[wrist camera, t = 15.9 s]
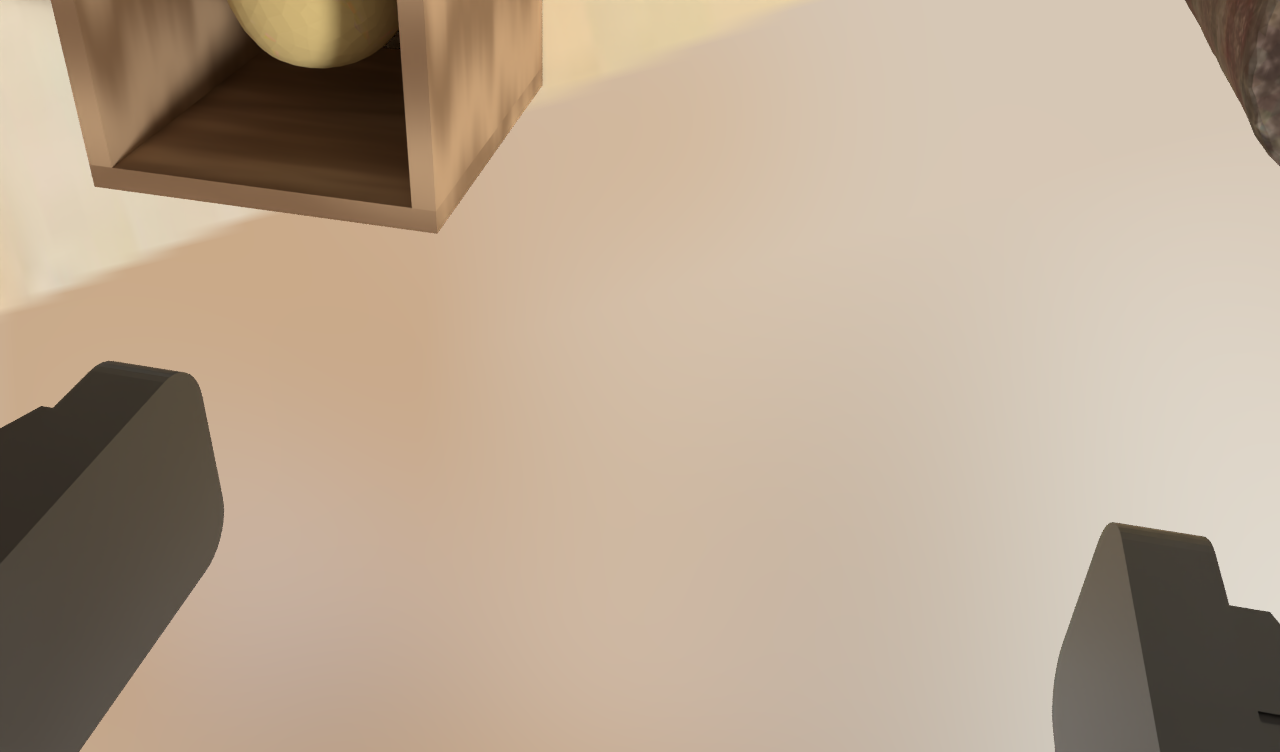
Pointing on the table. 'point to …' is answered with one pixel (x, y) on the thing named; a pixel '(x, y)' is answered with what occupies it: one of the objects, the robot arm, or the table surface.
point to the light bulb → (318, 29)
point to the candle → (1248, 58)
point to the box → (299, 107)
